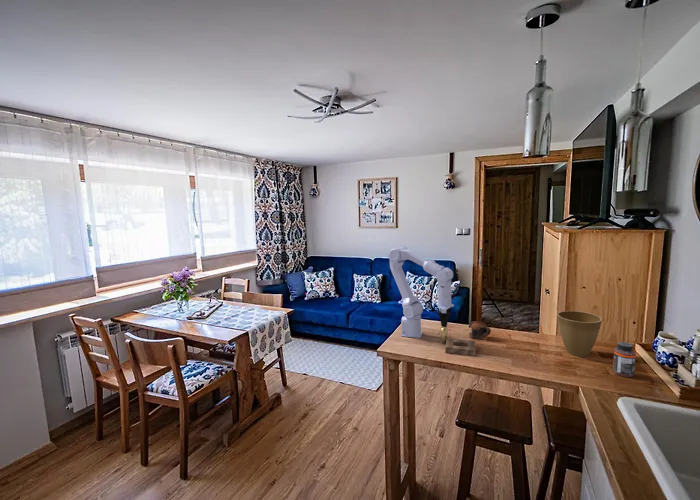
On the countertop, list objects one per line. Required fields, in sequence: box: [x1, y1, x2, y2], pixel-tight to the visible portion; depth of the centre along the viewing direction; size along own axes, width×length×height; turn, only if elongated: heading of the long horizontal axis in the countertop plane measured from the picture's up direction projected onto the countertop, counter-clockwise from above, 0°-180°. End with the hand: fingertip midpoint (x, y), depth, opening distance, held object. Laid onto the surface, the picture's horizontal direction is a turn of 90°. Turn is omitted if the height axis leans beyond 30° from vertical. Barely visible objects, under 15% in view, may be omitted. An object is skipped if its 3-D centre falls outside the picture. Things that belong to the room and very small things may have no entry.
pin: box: [440, 326, 449, 345], centre depth 148 cm, size 3×3×7 cm
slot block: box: [445, 337, 477, 357], centre depth 140 cm, size 12×10×2 cm
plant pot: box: [556, 310, 603, 358], centre depth 133 cm, size 15×15×16 cm
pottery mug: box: [468, 320, 491, 340], centre depth 154 cm, size 12×10×8 cm
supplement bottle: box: [612, 341, 637, 378], centre depth 116 cm, size 6×6×11 cm
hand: (444, 323), depth 147 cm, fingers open, 7 cm apart
